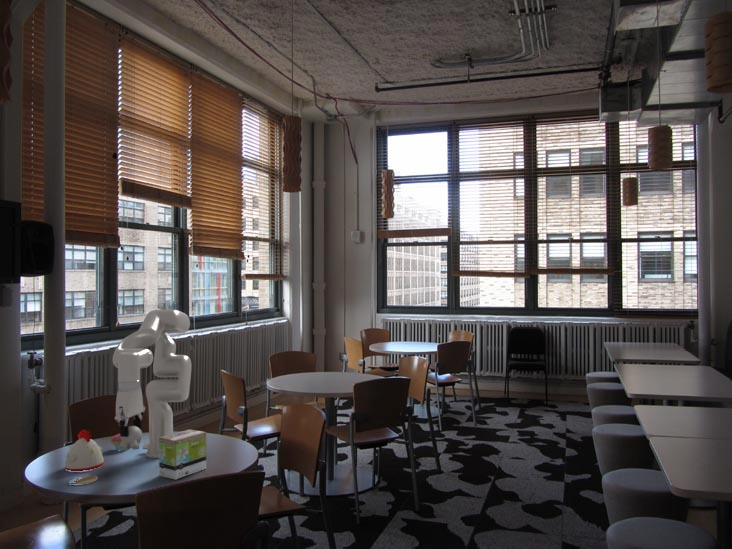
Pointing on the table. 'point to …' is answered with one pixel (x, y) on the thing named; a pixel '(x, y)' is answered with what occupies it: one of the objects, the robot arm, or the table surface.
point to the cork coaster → (86, 479)
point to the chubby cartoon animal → (131, 439)
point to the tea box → (182, 454)
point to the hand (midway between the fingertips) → (131, 433)
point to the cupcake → (116, 441)
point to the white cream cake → (84, 454)
